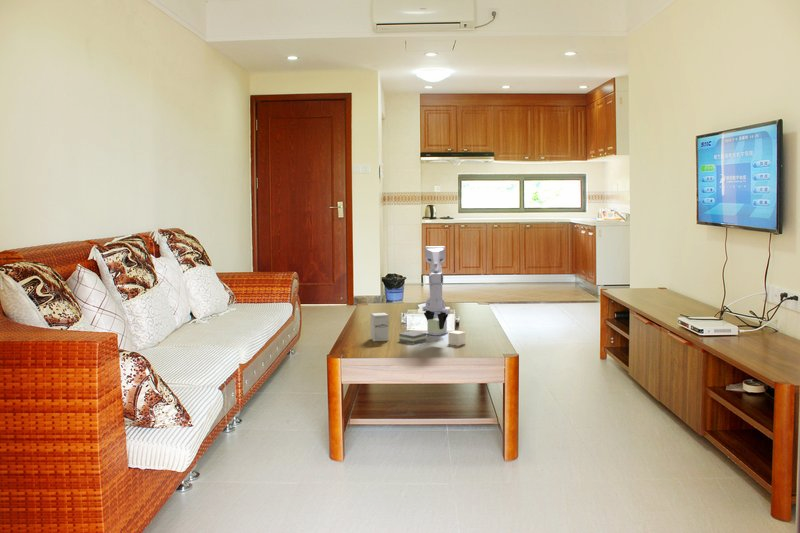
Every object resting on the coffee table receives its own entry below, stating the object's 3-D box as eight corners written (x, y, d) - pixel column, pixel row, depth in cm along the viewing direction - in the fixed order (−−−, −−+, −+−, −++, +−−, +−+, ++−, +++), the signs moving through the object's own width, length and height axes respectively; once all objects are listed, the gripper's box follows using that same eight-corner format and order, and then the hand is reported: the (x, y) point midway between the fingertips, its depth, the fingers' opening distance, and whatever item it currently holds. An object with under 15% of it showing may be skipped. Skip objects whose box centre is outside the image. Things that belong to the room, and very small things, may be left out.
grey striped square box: (412, 338, 329) (411, 330, 329) (426, 341, 323) (426, 333, 323) (399, 341, 323) (399, 333, 322) (413, 344, 316) (413, 336, 316)
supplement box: (373, 341, 321) (373, 315, 320) (370, 338, 329) (370, 313, 327) (389, 340, 323) (388, 314, 322) (385, 337, 330) (385, 312, 329)
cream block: (455, 342, 320) (455, 330, 319) (465, 343, 316) (465, 332, 316) (448, 344, 316) (448, 332, 315) (458, 345, 312) (458, 333, 311)
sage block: (435, 329, 317) (435, 318, 316) (444, 331, 313) (444, 319, 313) (427, 331, 313) (427, 319, 312) (437, 333, 309) (437, 321, 309)
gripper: (418, 298, 313) (418, 327, 315) (443, 301, 304) (443, 331, 305) (427, 296, 319) (427, 325, 320) (452, 299, 309) (452, 328, 311)
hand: (436, 328), depth 313 cm, fingers closed on sage block, 6 cm apart
